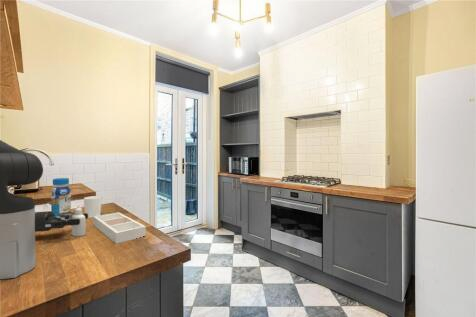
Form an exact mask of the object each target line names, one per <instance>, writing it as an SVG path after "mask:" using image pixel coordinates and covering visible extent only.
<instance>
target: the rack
mask: <svg viewBox="0 0 476 317" xmlns="http://www.w3.org/2000/svg"><path fill="white" fill-rule="evenodd" d="M92 219H93V226H94V227H95V228H96V229H97V230H99V231H100V232H101V233H103V234H104V235H105V236H106V237H107V238H109V239H110V240H111V241H112V242H113V243H114V244H116V245H117V244H121V243H125V242H129V241H133V240H137V239H141V238H144V237H143V236H145V237H146V236H147V230H146V229H147V226H146V225H144V224H142V223H141V222H139V221H136V220H135V219H132V218H131V217H129V216H126V215H124V214H123V213H121V212H114V213H106V214H100V216H94V217H93V218H92ZM140 237H141V238H140ZM136 238H137V239H136Z"/></svg>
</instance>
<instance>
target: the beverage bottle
mask: <svg viewBox="0 0 476 317" xmlns="http://www.w3.org/2000/svg"><path fill="white" fill-rule="evenodd" d="M69 184H70V179H69V178H68V177H60V178H59V177H58V178H57V177H56V178H52V186H53V187H52V188H51V190H50V193H51V196H50V206H51V207H50V208H51V209H50V211H51V212H53V213H54V215H55V216H58V215H59V214H62V213H72V212H71V210H72V209H71V208H72V207H71V206H72V204H71V203H72V200H71V199H72V194H71V188H70V186H69Z"/></svg>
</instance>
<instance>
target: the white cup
mask: <svg viewBox="0 0 476 317" xmlns="http://www.w3.org/2000/svg"><path fill="white" fill-rule="evenodd" d="M83 203H84V204H83V205H84V208H83V209H84V213H87V214H88V218H87V219H93V217H94V216H100V215H101V211H102V196H101V195H99V196H98V195H95V196H93V195H92V196H87V197H86V196H85V197H83Z"/></svg>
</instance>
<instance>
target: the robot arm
mask: <svg viewBox="0 0 476 317" xmlns="http://www.w3.org/2000/svg"><path fill="white" fill-rule="evenodd" d="M43 174H44V166H43V163H42V161H41V159H40V158H39V157H38V156H37V155H36V154H33V153H31V152H27V151H25V150H24V151H22V150H20V149H18V148H16V147H15V146H12V145H10V144H8V143H7V142H5V141H3V140H0V280H7V279H14V278H17V277H19V276H21V275H23V274H26V273H28V272H30V271H31V270H33V269H34V268H35V267H36V233H37V232H48V231H51V230H53V229H54V230H55V229H64V228H66V227H68V226H72V225H79V224H80V219H72V216H73V215H75V211H74V212H71V213H62V214H59V215H58V216H55V215H54V213H53V212H51V210H50V211H49V210H48V211H47V210H46V211H36V205H35V204H36V202H35V201H36V200H35V199H34V197H29V196H22V195H17V194H14V193H12V192H9V188H8V187H12V186H13V187H16V186H25V185H31V184H34V183H37V182H38V181H39V180H40V179H41V178H42V176H43ZM82 214H83V215H84V216H85V220H87V219H89V218H88V214H87V213H85V212H84V213H83V212H82Z"/></svg>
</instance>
